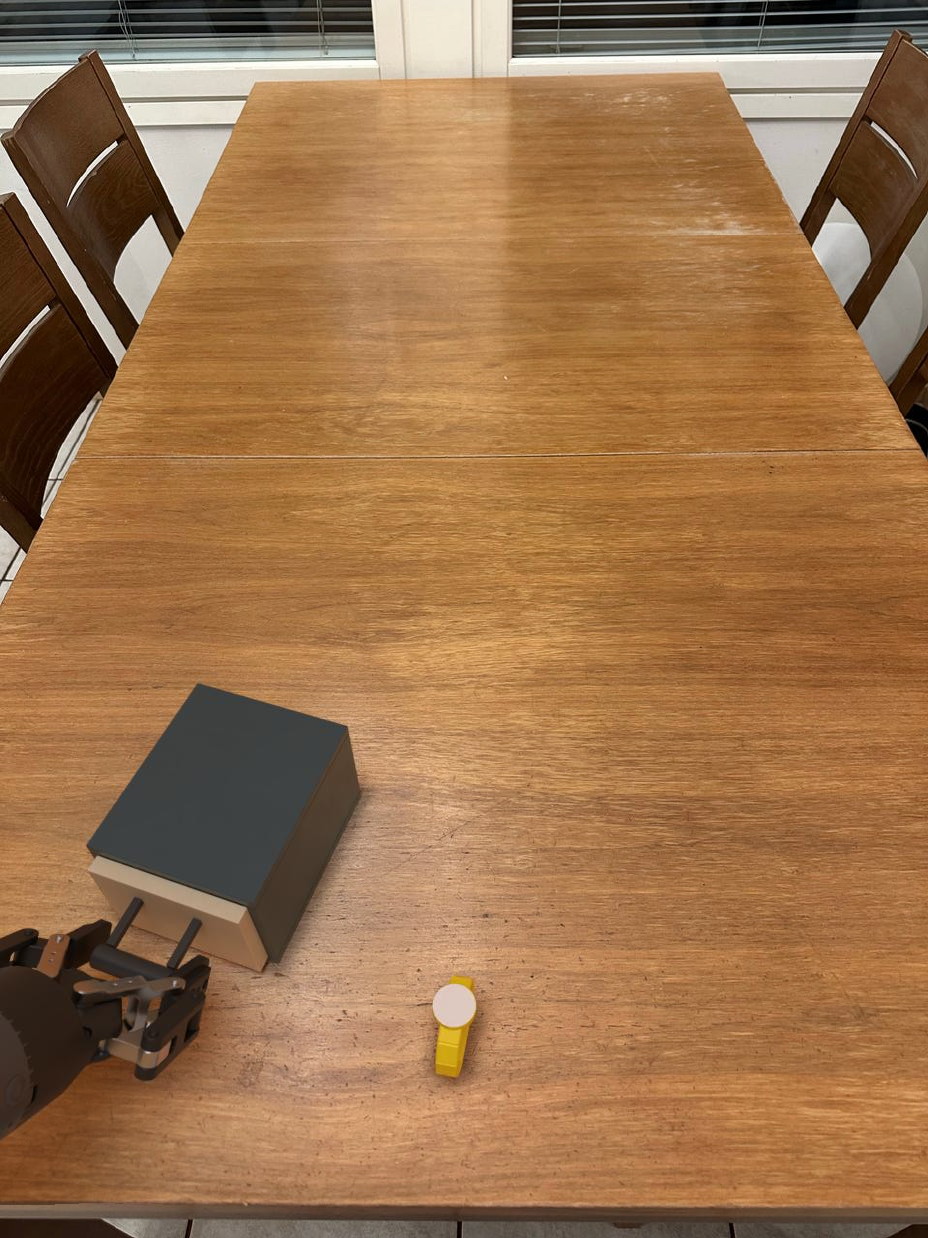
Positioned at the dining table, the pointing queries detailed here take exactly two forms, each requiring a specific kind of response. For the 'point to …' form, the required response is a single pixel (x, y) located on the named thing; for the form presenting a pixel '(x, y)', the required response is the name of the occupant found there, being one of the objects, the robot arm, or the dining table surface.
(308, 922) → the dining table surface
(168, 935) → the drawer
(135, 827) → the cabinet
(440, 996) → the watch
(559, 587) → the dining table surface
